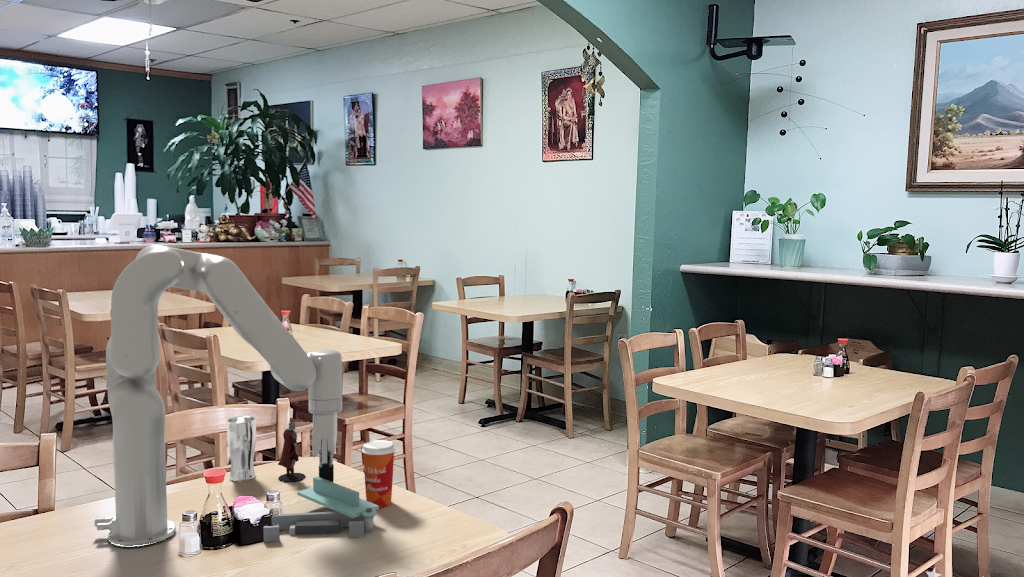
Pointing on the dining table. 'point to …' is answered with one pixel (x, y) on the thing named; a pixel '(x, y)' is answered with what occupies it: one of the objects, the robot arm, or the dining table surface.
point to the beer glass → (241, 447)
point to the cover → (338, 498)
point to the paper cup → (378, 471)
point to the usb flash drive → (316, 527)
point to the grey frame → (291, 519)
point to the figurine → (290, 455)
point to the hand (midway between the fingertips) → (326, 482)
